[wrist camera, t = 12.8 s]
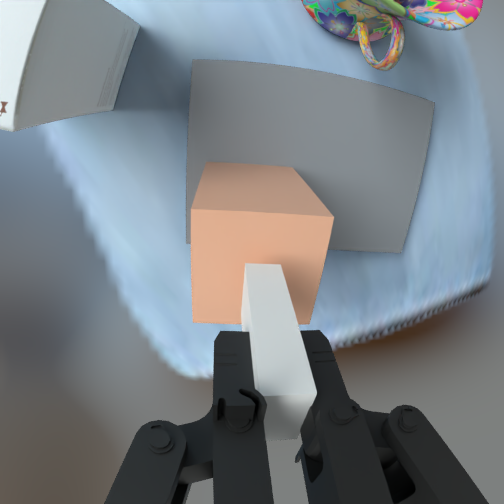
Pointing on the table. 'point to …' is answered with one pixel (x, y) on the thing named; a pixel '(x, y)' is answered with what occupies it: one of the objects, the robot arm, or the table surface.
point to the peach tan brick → (254, 237)
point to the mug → (389, 20)
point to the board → (315, 142)
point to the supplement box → (60, 59)
